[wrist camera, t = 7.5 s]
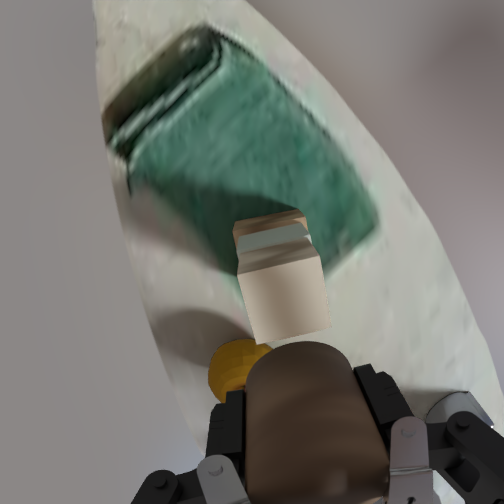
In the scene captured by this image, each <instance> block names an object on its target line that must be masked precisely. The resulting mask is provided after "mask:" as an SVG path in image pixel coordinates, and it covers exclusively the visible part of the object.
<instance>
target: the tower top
mask: <svg viewBox="0 0 504 504" xmlns="http://www.w3.org/2000/svg"><path fill="white" fill-rule="evenodd" d="M237 277H238V280H239V284H240V287H241V291H242V295H243V298H244V302H245V305H246V309H247V312H248V316H249V319H250V323H251V326H252V330H253V333H254V337H255V340H256V344H262V343H267V342H272V341H276V340H281V339H285V338H290V337H294V336H299V335H303V334H307V333H311V332H315V331H319V330H323V329H327V328H331V327H332V326H331V319H330V313H329V307H328V301H327V295H326V289H325V283H324V277H323V272H322V266H321V261H320V256H319V254H318V253H317V251H316V250H315V248H314V247H313V245H312V244H311V242H310V241H309V239H308V238H303V239H299V240H295V241H291V242H286V243H282V244H278V245H273V246H269V247H265V248H261V249H256V250H252V251H248V252H244V253H240V257H239V264H238V272H237Z"/></svg>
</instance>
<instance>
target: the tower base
mask: <svg viewBox="0 0 504 504" xmlns="http://www.w3.org/2000/svg"><path fill="white" fill-rule="evenodd" d="M296 223H302V224H303V226H304V227H305V228H306V230H307V231H308V229H307V223H306V217H305V216H304V215H303V213H302V212H301V211H300V210H299V209H296V210H290V211H285V212H280V213H275V214H270V215H264V216H259V217H254V218H249V219H244V220H239V221H235V224H234V227H233V231H232V232H233V236H234V241H235V245H236V249H237V244H238V239H239V236H243V235H247V234H252V233H256V232H260V231H265V230H269V229H274V228H278V227H283V226H287V225H292V224H296Z"/></svg>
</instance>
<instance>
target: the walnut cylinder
mask: <svg viewBox="0 0 504 504" xmlns="http://www.w3.org/2000/svg"><path fill="white" fill-rule="evenodd" d="M389 466H390V458H389V455H388V452H387V450H386V447H385V445H384V442H383V440H382V438H381V435H380V433H379V430H378V428H377V426H376V423H375V421H374V419H373V416H372V414H371V411H370V409H369V407H368V404H367V402H366V400H365V398H364V395H363V393H362V391H361V388H360V386H359V384H358V381H357V379H356V377H355V375H354V372H353V370H352V368H351V366H350V364H349V362H348V360H347V358H346V357H345V356H344V355H343V354H342V353H341V352H340V351H339V350H337V349H336V348H334V347H332V346H330V345H327V344H324V343H319V342H312V341H301V342H294V343H289V344H285V345H282V346H280V347H277V348H275V349H273V350H271V351H269V352H268V353H266V354H265V355H263V356H262V357H261V358H260V359H259V360H258V361H257V362H256V363H255V364H254V365H253V367H252V368H251V370H250V371H249V373H248V376H247V379H246V388H245V492H246V494H247V496H248V498H249V500H250V502H251V504H373V503H374V502H376V501H377V500H378V499H380V498H381V497H382V496H383V493H384V491H386V488H387V482H388V472H389Z"/></svg>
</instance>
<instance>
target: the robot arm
mask: <svg viewBox="0 0 504 504" xmlns="http://www.w3.org/2000/svg"><path fill="white" fill-rule="evenodd" d="M353 372H354V375H355V377H356V379H357V381H358V384H359V386H360V388H361V391H362V393H363V395H364V398H365V400H366V402H367V404H368V407H369V409H370V411H371V414H372V416H373V419H374V421H375V423H376V426H377V428H378V430H379V433H380V435H381V438H382V440H383V442H384V445H385V447H386V450H387V452H388V455H389V458H390V466H389V472H388V482H387V488H386V491H384V493H383V499H382V504H433V471H432V470H436V471H437V472H438V473H439V474H440V475H441V476H442V477H443V478H444V479H445V480H446V481H447V482H448V483H449V484H450V485H451V487H452V488H453V489H454V490H455V491H456V492H457V493H458V494H459V495H460V496H461V497H462V498H463V499H464V500H465V504H504V437H502V436H501V435H500V434H499V433H497V432H496V431H495V430H494V429H493V427H494V423H493V422H492V420H491V419H490V417H489V416H488V415H487V413H486V412H485V411H484V409H483V408H482V407H481V405H480V404H479V403H478V402H477V400H476V399H475V398H474V396H473V395H472V394H471V392H468V393H462V392H458V393H454V394H451V395H449V396H447V397H445V398H444V399H442V400H441V401H439V402H438V403H437V404H436V405H435V406H434V407H433V408H432V409H431V411H430V412H429V414H428V415H427V418H426V421H425V423H424V421H423V420H421V419H420V418H417V417H415V416H414V415H413V413H412V412H411V410H410V408H409V406H408V404H407V403H406V401H405V399H404V397H403V395H402V394H401V393H400V390H399V388H398V387H397V385H396V383H395V381H394V380H393V378H392V377H391V376H390V375H388V374H387V373H385V372H384V371H383V372H379V373H375V371H374V369H373V367H372V365H371V364H366V365H362V366H358V367H354V369H353ZM131 504H251V502H250V500H249V498H248V496H247V494H246V492H245V391H244V389H240V390H233V391H227V392H226V402H225V403H220V404H216V406H215V407H214V409H213V410H212V412H211V416H210V424H209V432H208V440H207V448H206V456H205V459H203V460H202V461H201V462H200V463H199V464H198V467H197V468H196V469H194V470H192V471H190V472H187V473H183V474H179V475H175V474H174V473H173V472H171V471H168V470H158V471H155V472H153V473H151V474H150V475H148V476H147V477H146V479H145V481H144V482H143V484H142V486H141V487H140V489H139V491H138V493H137V494H136V496H135V497H134V499H133V501H132V502H131Z"/></svg>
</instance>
